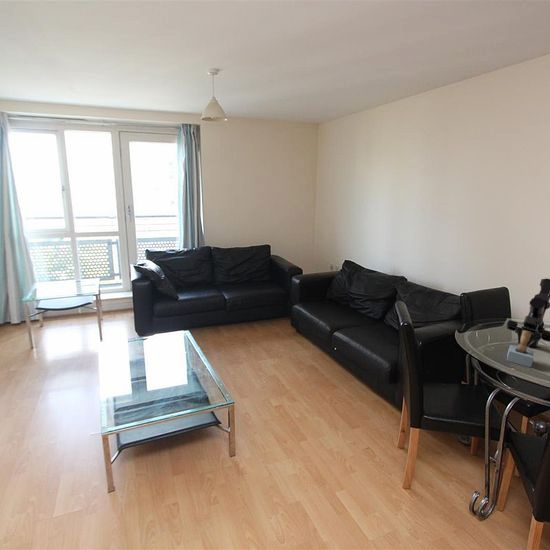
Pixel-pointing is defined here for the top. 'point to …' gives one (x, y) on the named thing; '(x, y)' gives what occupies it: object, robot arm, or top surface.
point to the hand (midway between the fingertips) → (522, 344)
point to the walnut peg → (524, 341)
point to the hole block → (520, 356)
